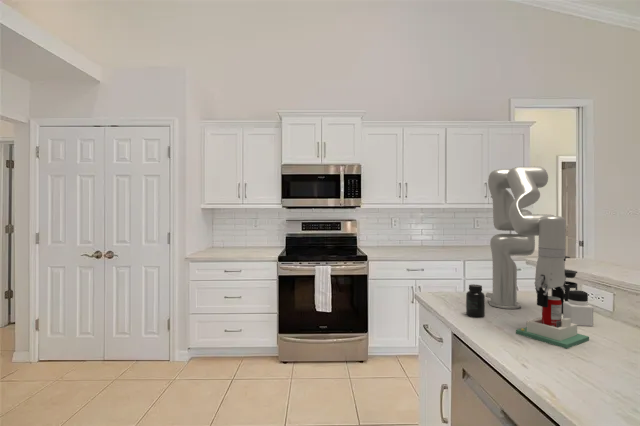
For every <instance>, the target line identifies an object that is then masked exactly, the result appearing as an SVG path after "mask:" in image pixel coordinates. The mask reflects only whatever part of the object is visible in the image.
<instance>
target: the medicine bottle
mask: <svg viewBox="0 0 640 426" xmlns="http://www.w3.org/2000/svg"><path fill="white" fill-rule="evenodd" d="M568 301H569V302H568ZM568 301H565V300H564V302H563V314H562V319H564V318H570V319H571V323H573V324H577V326H581V327H593V326H594V306H592V305H589V304H588V303H589V302H588V301H589V294H588V292H586V291H584V290H579V289H577V290H576V289H570V291H568Z"/></svg>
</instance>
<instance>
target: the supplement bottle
mask: <svg viewBox="0 0 640 426" xmlns="http://www.w3.org/2000/svg"><path fill="white" fill-rule="evenodd" d="M482 291H483V286H482V285H480V284H472V283H471V284H469V285H468V291H467V292H466V293H465V299H466V301H465V309H466V310H465V312H466V315H467V317H470V318H477V319H478V318H479V319H481V318H483V317H485V314H486V312H485V311H486V310H485V309H486V308H485V307H486V305H485V304H486V302H485V301H486V299H485V298H486V297H485V295H486V294H485V293H484V292H482Z"/></svg>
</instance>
